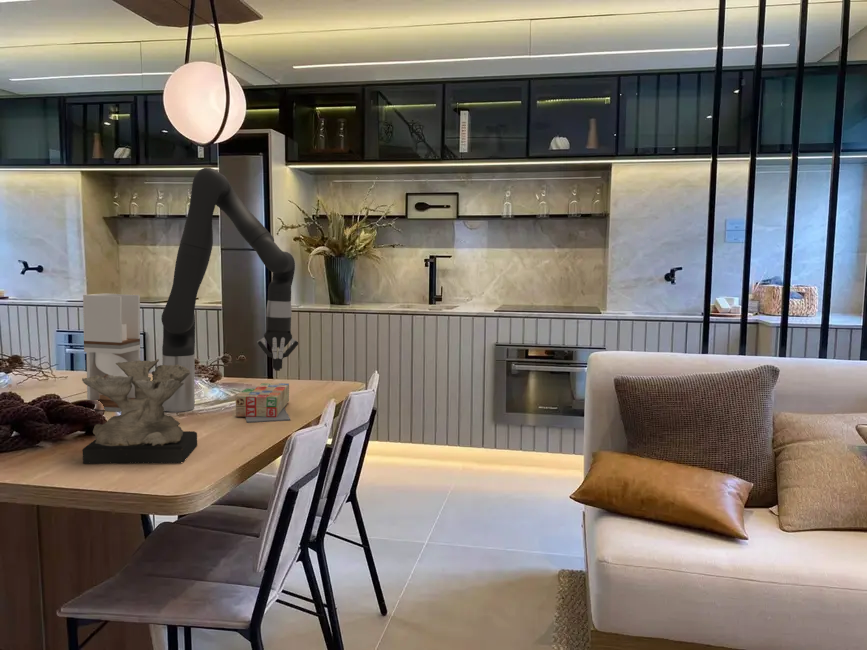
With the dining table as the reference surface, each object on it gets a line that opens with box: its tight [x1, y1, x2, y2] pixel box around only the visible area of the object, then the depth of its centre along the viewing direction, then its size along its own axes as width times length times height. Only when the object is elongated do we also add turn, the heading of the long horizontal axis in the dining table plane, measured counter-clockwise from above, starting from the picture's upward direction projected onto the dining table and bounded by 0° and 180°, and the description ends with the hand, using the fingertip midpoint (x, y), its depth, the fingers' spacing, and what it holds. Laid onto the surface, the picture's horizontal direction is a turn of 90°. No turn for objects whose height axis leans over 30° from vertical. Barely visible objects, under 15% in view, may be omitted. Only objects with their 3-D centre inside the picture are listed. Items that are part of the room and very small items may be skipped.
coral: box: [81, 358, 198, 465], centre depth 143 cm, size 25×20×21 cm
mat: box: [244, 407, 291, 424], centre depth 186 cm, size 12×24×1 cm, turn 21°
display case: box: [82, 293, 141, 412], centre depth 184 cm, size 11×11×35 cm
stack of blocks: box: [235, 382, 290, 417], centre depth 188 cm, size 21×6×12 cm
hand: (277, 370), depth 186 cm, fingers closed
